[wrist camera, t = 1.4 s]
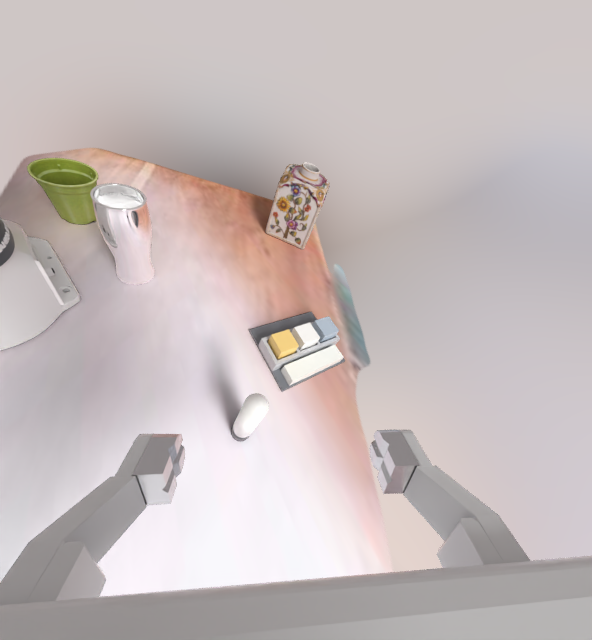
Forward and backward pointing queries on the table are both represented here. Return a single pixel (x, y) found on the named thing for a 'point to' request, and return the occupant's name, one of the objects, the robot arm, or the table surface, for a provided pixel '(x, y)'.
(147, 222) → the beer glass
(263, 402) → the white rounded cylinder
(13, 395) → the table surface
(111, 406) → the table surface
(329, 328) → the key slate
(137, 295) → the table surface
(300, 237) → the decorative jar
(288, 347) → the key amber
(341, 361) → the keypad
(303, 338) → the key white
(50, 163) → the plant pot
